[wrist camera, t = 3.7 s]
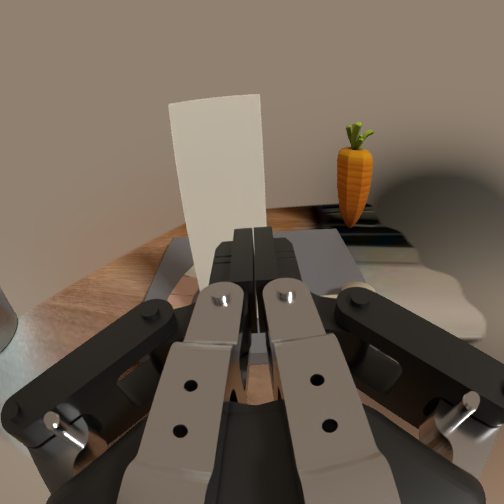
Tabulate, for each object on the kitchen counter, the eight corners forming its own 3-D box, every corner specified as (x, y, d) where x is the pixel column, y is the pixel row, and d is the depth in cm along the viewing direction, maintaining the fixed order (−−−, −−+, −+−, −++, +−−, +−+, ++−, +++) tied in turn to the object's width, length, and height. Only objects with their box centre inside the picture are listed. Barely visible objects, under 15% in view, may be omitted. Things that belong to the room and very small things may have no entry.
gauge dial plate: (131, 361, 20) (124, 349, 19) (175, 246, 35) (172, 235, 34) (387, 348, 19) (392, 336, 18) (334, 237, 35) (335, 226, 34)
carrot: (341, 217, 40) (345, 118, 32) (370, 226, 37) (380, 123, 29) (326, 229, 37) (330, 119, 29) (358, 239, 34) (369, 124, 26)
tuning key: (158, 326, 21) (100, 120, 12) (166, 302, 23) (121, 115, 15) (377, 313, 20) (414, 105, 12) (366, 290, 23) (391, 102, 14)
